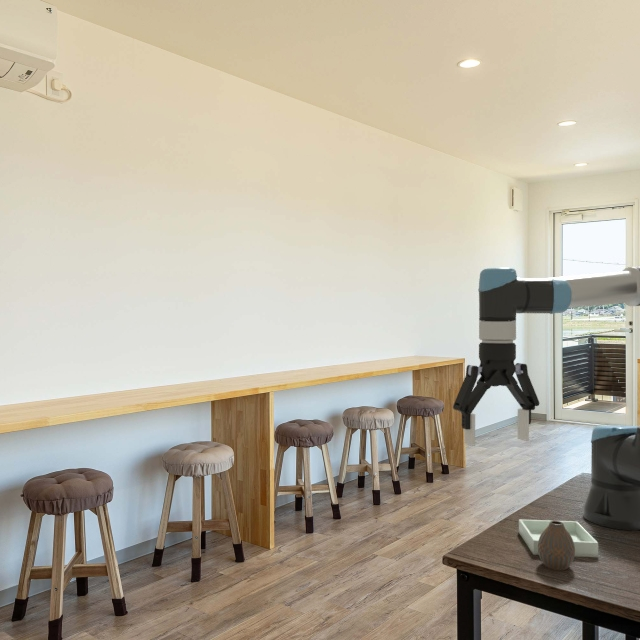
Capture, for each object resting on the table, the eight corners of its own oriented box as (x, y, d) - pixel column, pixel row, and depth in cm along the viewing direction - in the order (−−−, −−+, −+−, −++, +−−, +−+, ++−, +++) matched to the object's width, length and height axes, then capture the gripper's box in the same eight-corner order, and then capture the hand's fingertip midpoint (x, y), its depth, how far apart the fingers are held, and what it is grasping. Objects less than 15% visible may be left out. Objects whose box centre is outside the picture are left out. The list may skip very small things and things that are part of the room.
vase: (578, 575, 119) (579, 529, 118) (540, 572, 120) (541, 527, 120) (570, 560, 125) (570, 518, 125) (534, 558, 127) (535, 515, 127)
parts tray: (577, 534, 140) (577, 521, 140) (597, 557, 127) (598, 542, 127) (518, 532, 141) (518, 519, 141) (533, 554, 128) (533, 540, 128)
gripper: (532, 339, 138) (532, 434, 138) (436, 341, 129) (436, 443, 129) (557, 341, 131) (556, 440, 131) (457, 343, 122) (456, 450, 122)
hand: (496, 442), depth 130 cm, fingers open, 13 cm apart
